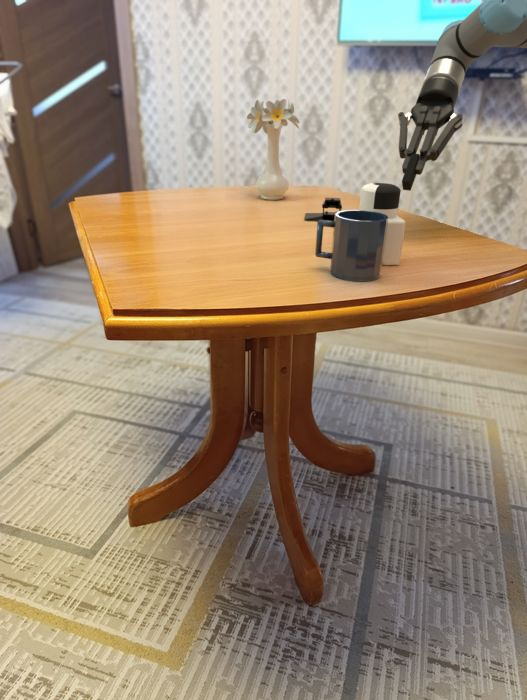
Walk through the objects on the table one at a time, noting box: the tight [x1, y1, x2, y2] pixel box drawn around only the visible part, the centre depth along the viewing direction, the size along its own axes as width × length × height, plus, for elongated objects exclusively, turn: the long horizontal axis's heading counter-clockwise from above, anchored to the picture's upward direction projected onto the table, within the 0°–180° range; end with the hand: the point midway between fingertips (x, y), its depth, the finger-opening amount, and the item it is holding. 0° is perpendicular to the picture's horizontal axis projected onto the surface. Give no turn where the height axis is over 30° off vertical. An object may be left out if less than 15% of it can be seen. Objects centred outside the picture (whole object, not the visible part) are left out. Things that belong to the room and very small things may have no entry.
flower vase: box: [246, 98, 300, 201], centre depth 137 cm, size 13×18×25 cm
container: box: [358, 182, 406, 266], centre depth 89 cm, size 8×8×13 cm
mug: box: [314, 209, 389, 283], centre depth 82 cm, size 11×8×10 cm
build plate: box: [304, 196, 343, 222], centre depth 120 cm, size 12×7×5 cm, turn 84°
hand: (406, 185), depth 98 cm, fingers closed
